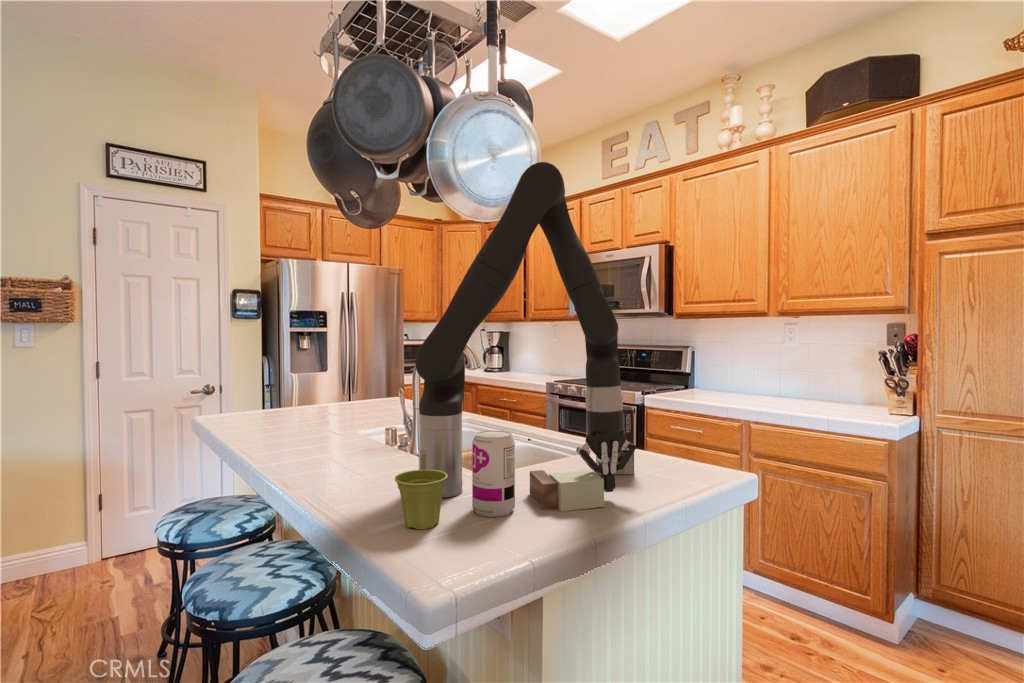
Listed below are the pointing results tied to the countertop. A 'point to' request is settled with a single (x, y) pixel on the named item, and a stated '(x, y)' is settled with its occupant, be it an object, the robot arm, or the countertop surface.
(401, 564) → the countertop surface
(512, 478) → the supplement can
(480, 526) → the countertop surface
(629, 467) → the coffee box
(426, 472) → the plant pot
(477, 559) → the countertop surface
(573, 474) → the block
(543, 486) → the brown wooden block
